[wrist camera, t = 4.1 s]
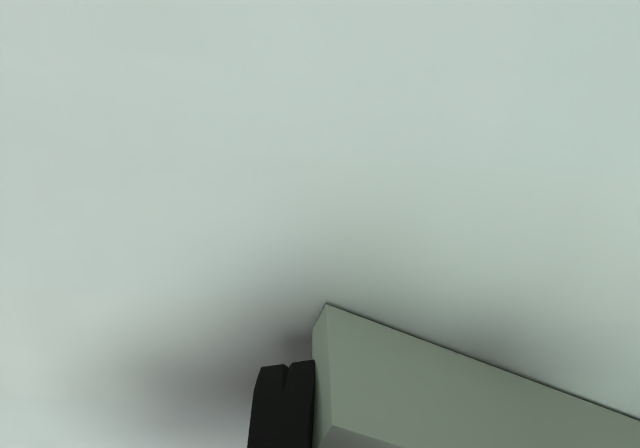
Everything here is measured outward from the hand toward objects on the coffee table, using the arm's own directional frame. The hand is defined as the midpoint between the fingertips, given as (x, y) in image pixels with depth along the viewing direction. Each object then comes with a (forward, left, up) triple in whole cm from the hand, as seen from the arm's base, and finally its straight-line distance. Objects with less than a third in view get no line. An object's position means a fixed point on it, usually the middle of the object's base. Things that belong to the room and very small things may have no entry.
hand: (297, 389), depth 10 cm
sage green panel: (-3, -7, -2) cm, 8 cm away
